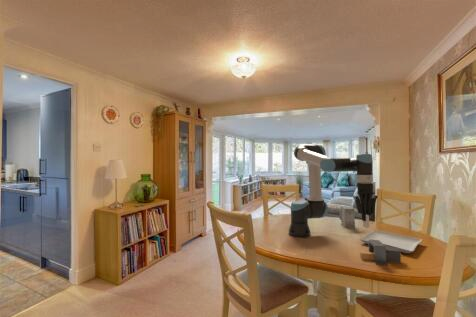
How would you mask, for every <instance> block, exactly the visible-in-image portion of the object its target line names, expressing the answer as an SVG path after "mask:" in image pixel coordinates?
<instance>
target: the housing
mask: <svg viewBox="0 0 476 317" xmlns="http://www.w3.org/2000/svg"><path fill="white" fill-rule="evenodd" d="M368 252H374V260H373V262H374V263H375V265H380V266H388V265H389V264H388V262H387V261H386V246H385V245H383V244H382V243H381V242H380V241H379V240H369V244H368Z"/></svg>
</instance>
